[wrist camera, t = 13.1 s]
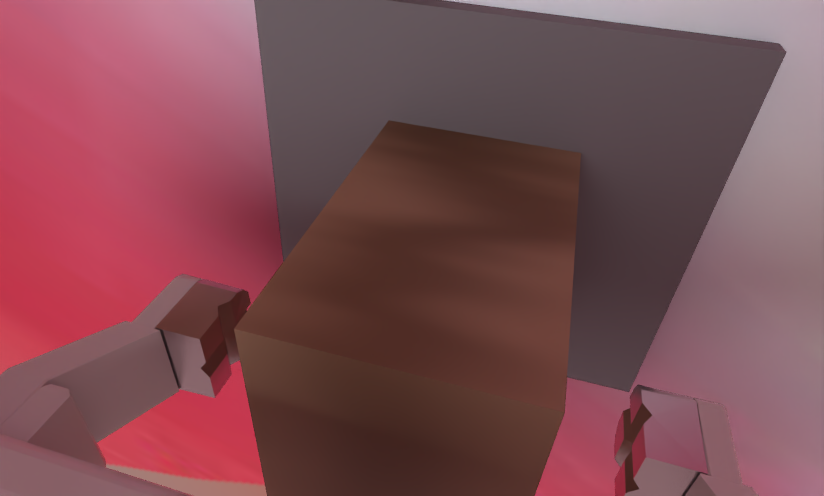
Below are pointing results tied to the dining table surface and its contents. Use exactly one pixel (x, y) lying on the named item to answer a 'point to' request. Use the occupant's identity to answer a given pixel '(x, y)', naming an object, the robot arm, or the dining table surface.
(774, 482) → the dining table surface
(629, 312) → the mat
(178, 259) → the dining table surface
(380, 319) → the block
